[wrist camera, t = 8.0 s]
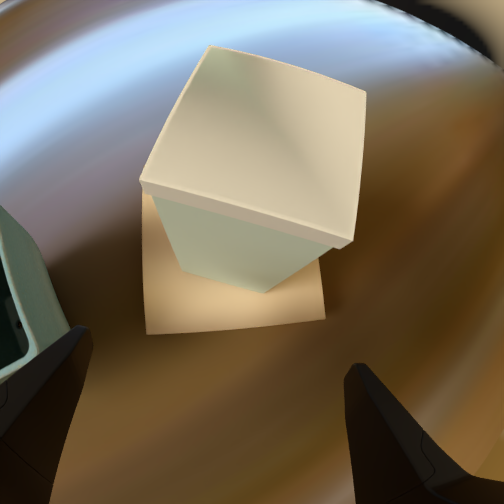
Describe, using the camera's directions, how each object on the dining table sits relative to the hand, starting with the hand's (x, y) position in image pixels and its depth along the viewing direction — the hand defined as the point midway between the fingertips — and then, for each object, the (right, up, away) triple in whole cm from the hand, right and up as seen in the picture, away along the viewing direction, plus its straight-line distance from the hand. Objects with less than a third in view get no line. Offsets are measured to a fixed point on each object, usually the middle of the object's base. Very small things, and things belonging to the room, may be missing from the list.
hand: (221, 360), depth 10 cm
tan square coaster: (-1, +4, +13) cm, 13 cm away
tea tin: (0, +4, +10) cm, 10 cm away
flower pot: (-15, -1, +9) cm, 18 cm away
